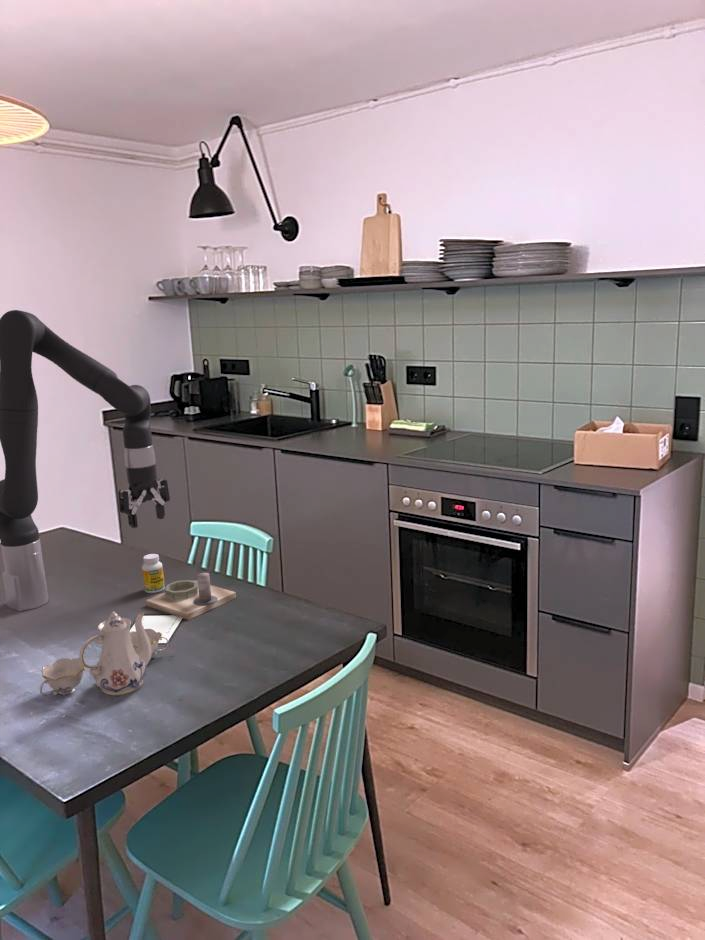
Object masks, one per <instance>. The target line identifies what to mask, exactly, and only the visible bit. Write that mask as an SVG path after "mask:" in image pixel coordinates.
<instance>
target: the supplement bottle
mask: <svg viewBox="0 0 705 940" xmlns="http://www.w3.org/2000/svg"><path fill="white" fill-rule="evenodd" d="M141 570H142V577H143V586H144V592H145V593H147V594H157V593H160V592H163V591H165V588H166V585H165V584H166V583H165V576H164V568H163V563H162V562H161V561H160V556H159V554H157V553H149V554H146V555H144V556H143V564H142V566H141Z"/></svg>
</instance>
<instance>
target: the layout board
mask: <svg viewBox="0 0 705 940" xmlns="http://www.w3.org/2000/svg"><path fill="white" fill-rule="evenodd" d="M196 578H197V579H196V580H195V579H194V580H190V579H185V580H176V581H174V582H171V583H168V584H166V585H165V588H164V592H163V593H159V594H158V595H155V596H153V597H151V598H148V599H146V606H148V607H149V608H153V609H155V610H159V611H161V612H164V613H166V614H170V615H173V616H176V617H178V618H181V619H184V620H186V621H189V620H191V619H193V618H195V617H198V616H201V615H202V614H204V613H206V612H209V611H211V610H213V609H215V608H218V607H219V606H221V605H224V604H226V603H228V602H230V601H232V600H235V599H236V598H237V593H236V591H233V590H229V589H225V588H222V587H220V586H216V585H213V584H211V579H210V578H211V577H210V573H209V572H200V573H198V574H197V575H196Z"/></svg>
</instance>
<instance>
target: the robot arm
mask: <svg viewBox="0 0 705 940" xmlns="http://www.w3.org/2000/svg"><path fill="white" fill-rule="evenodd" d="M33 353H34V354H36V355H39V356H41V357H43V358H45V359H46V360H49V361H50V362H52V363H53V364H54V365H56V366H57V367H58V368H60V369H61V370H63V372H65V373H66V374H67V375H69V377H70V378H72V379H73V380H75V382H78V383H79V384H81V385H82V386H84V387H85V388H87V389H89V390H90V391H91V392H94V393H95V394H97V395H99V397H101V398H103V400H104V401H105V402H106V403H108V404H109V405H110V406H111V407H113V409H115V410H116V411H118V412H120V413H121V414H123V415H124V419H125V420H124V422H125V423H124V425H123V429H122V437H123V445H124V462H125V463H124V464H125V471H126V479H127V482H128V485H129V487H128V489H125V490H124V489H123V490H122V489H120V490H118V503H119V504H118V507H119V512H120V513H121V514H124V515H127V522H128V525H129V526H130V528H132V529H136V528H138V527H139V525H138V517H137V511H138V508H139V507H140V506H141V504H142V503H146V502H148V501H153V502H154V503H155V513H156V514H155V515H156V519H158V520H163V519H165V515H166V513H165V512H166V511H165V503H168V502H169V501H170V499H171V497H170V489H169V484H168V480H167V479H163V478H158V472H157V464H156V463H157V462H156V453H155V450H154V444H153V436H152V431H151V420H152V417H151V416H152V415H151V414H152V406H151V405H152V404H151V403H152V402H151V397H150V394H149V391H148V390H147V389H146V388H145V387H144V386H142V385H140V384H132V385H128V384H127V383H125V382H124V381H123V380H121V379H120V378H118V375H117V373H116V372H115V371H114V370H112V369H111V368H109V367H107V366H106V365H105V364H103V363H101V362H100V361H98V360H96V359H95V358H94V357H91V356H90V355H88V354H86V353H85V352H83V351H81V350H80V349H78V348H76V347H74V346H73V345H71V344H70V343H69V342H68V341H66V340H64V339H63V338H62V337H61V336H59V335H58V334H56V333H55V332H54V331H52V329H50V327H48V326H47V325H46V324H45V323H44V322H43V321H42V320H40V319H39V318H38V317H37V316H36V315H35V314H33V313H31V312H28V311H24V310H20V309H19V310H18V309H14V310H13V309H12V310H8V311H6V312H5V313H3V315H2V316H1V317H0V445H1V449H2V453H3V457H4V464H5V465H4V466H5V469H4V470H5V471H4V479H1V480H0V547H1V548H0V549H1V553H2V558H3V559H2V560H3V566H4V571H2V573H1V575H2V581H3V587H4V593H5V600H6V607H7V606H8V607H7V608H10V609H12V610H15V611H17V612H22V611H26V610H32V609H36V608H38V607H42V606H44V605H45V604H47V603H48V601H49V594H48V593H49V592H48V587H47V580H46V574H45V573H46V572H45V565H44V560H43V559H44V558H43V553H42V545H41V539H40V531H39V528H38V527H37V525H36V523H35V521H34V520H33V516H32V514H33V513H34V512H35V510H36V509H37V505H38V502H39V489H38V480H37V479H38V478H37V461H36V460H37V448H38V447H37V445H38V444H37V443H38V441H37V439H38V425H39V401H38V400H39V399H38V394H37V389H36V386H35V383H34V382H35V381H34V378H33V372H32V365H33V360H32V359H33ZM158 490H159V493H158V492H157V491H158Z"/></svg>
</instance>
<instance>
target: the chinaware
mask: <svg viewBox="0 0 705 940" xmlns="http://www.w3.org/2000/svg"><path fill="white" fill-rule="evenodd" d="M144 616H145V612H143V611H142V612H139V613H138V614H137V616H136V618H135V619H134V620H135V621H134V627H135V630H134V631H131V624H132V620H131V619H129V618H126V617H122V616H120V615H118V614H117V613H116V612H115V611H112V612H111V613H110V615H109V617H107V619H105V620H104V621H103V622H100V623H99V624H98V625H97V630H99V633H100V634H97V635H94V636H91V637H90V638H88V639H87V640H86V641H85V642H84V643H83V645H82V646H81V648H80V651H79V656H78V657H79V658H74V659H71V658H67V657H65V658H62V657H61V658H60V659H57V660H56V661H54V662H53V663H52V664H47V665H45V666H43V667H42V669H41V674H42V676H41V677H42V678H43V679H44V680H43V681H42V682H41V683H40V686H39V692H40V694H41V695H42V696H43V697H44V696H45V697H47V696H49V695H50V694H51V693H52V694H53V695H54V696H56V695H57V694H59V693H60V694H59V695H61V694H63V695H64V696H65V694H67V695H70V694H74V692H75V690H77V687H78V686H79V684H80V683H81V682H82V679H83V677H84V671H85V670H86V669H89V673H90V675H91V676H92V678H93V679H94V681H95V684H96V686H97V687H98V688H99V689H100V692H101V693H103V694H104V693H105V694H104V695H106V694H108V695H107V696H112V695H117V696H124V695H126V694H127V695H128V694H131V693H133V692H135V691H137V690H138V689H140V688H141V687H142V685H143V684H144V679H145V677H147V675H148V673H149V668H148V664H149V662H150V661H151V660H152V659H151V658H152V656H157V655H158V653H157V652H158V651H159V652H160V651H161V652H162V651H165V650H167V649H168V647H169V644H170V641H169V639H168V638H167V637H165V636H163V634H162V633H161V632H160V631H158V632H156V630H154V629H152V628H144V625H143V622H142V620H143V618H144ZM163 639H165V640H166V642H167V645H166V646H165V647H164V648H161V649H158V647H159V641H162V640H163ZM93 641H95V644H97V645H100V644H102V645H101V646H102V648H101V654H100V658H99V660H98V662H97V664H95V665H89V664H87V663H86V661H85V658H84V653H85V651H86V649H87V647H88V645H90V643H92V642H93ZM44 684H45V685H49V687H50V688H51V689H52V690H50V691H49V692H48V693H46V694H45V693H43V690H42V689H43V685H44ZM59 691H60V692H59ZM73 691H74V692H73ZM123 694H124V695H123ZM63 695H62V696H63Z"/></svg>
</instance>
